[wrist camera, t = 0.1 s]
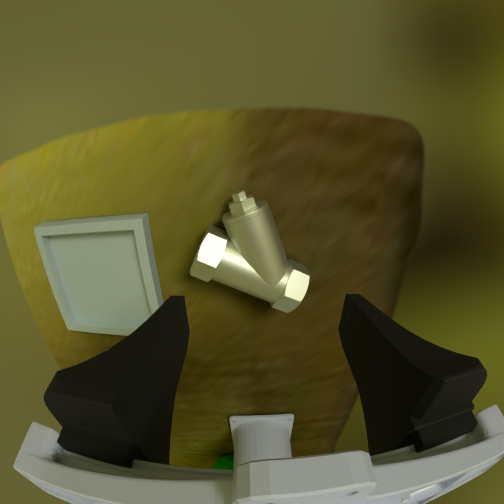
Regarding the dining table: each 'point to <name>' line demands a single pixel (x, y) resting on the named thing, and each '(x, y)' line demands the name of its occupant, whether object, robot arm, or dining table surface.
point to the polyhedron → (225, 462)
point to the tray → (101, 271)
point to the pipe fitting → (251, 255)
